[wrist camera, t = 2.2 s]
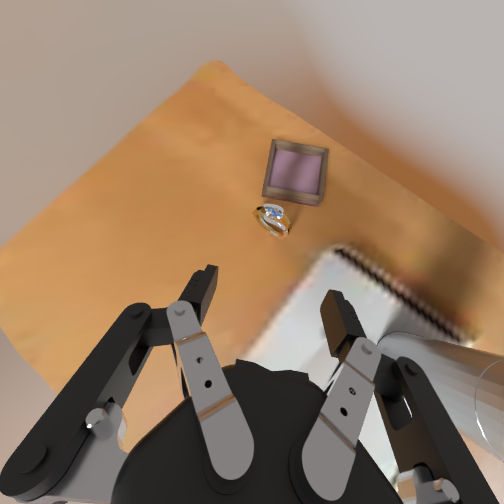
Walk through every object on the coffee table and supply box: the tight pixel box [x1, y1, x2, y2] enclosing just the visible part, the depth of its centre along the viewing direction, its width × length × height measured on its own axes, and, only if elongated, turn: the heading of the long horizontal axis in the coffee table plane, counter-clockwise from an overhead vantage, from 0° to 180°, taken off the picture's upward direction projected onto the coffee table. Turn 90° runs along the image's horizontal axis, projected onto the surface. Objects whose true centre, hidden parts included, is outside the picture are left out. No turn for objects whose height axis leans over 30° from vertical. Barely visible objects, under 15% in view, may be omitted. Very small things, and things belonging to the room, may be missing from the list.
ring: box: [253, 204, 291, 239], centre depth 32 cm, size 7×3×8 cm, turn 47°
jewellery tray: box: [262, 139, 329, 207], centre depth 37 cm, size 11×11×2 cm
